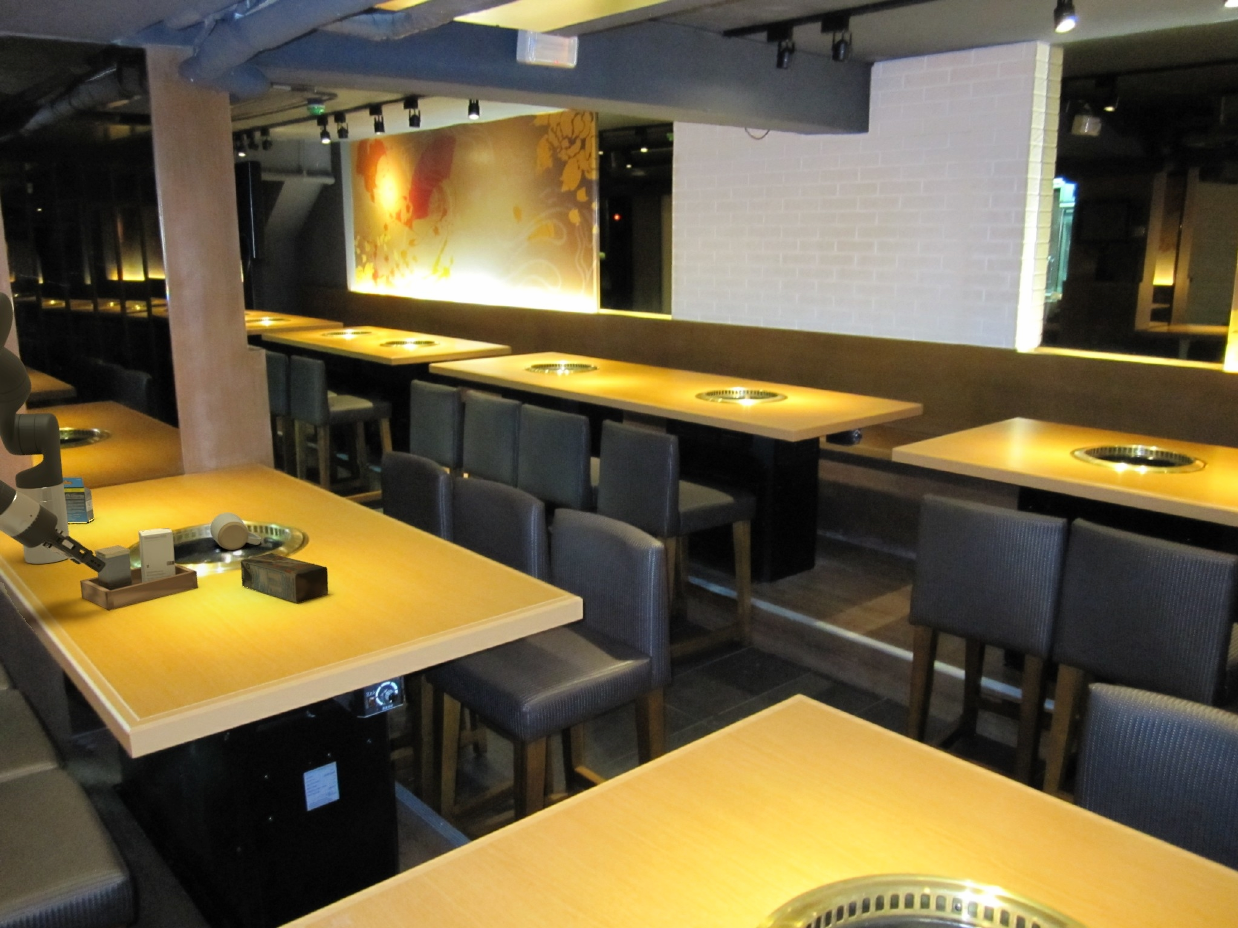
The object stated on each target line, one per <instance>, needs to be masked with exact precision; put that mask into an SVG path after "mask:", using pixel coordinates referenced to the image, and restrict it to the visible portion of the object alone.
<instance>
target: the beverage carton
mask: <svg viewBox="0 0 1238 928" xmlns="http://www.w3.org/2000/svg"><path fill="white" fill-rule="evenodd" d="M240 567H241V568H240V570H241V577H240V578H241V587H243V586H244V587H243V588H246V587H248V588H247V589H249V588H250V590H252V589H253V591H255V590H256V591H255V592H259V593H262V594H266V595H269V596H272V597H276V598H279V599H283V600H286V601H290V602H292V603H295V604H299V603H300V604H301V603H305V602H307V601H311V600H313V599H314V600H315V599H317V598H321V597H324V596H327V595H329V580H328V579H329V576H328V575H329V574H328V572H329V571H328V568H327V566H323V565H319V564H317V563H316V564H315V563H311V562H307V561H303V560H298V559H294V558H291V557H289V556H288V557H287V556H284V555H283V556H282V555H279V554H277V553H272V552H268V553H265V554H261V555H258V556H256V555H250V556H248V558H244V559H241V560H240Z"/></svg>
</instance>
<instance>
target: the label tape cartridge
mask: <svg viewBox="0 0 1238 928" xmlns="http://www.w3.org/2000/svg"><path fill="white" fill-rule="evenodd" d="M65 481H66V482H67V483H64V482H65ZM63 484H64V493H65V501H66V511H67V520H68V522H89V520H91V519H93V518H94V519H95V517H94V516H95V515H94V514H95V513H94V505H93V497H92V496H93V495H92V490H91V488H88V487H86V486H84V480H83V477H82V476H81V477H77V476H75V477H71V476H70V477H63Z"/></svg>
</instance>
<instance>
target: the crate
mask: <svg viewBox="0 0 1238 928" xmlns="http://www.w3.org/2000/svg"><path fill="white" fill-rule="evenodd" d="M197 572H198V571H197V570H194V569H191V568H188V567H187V566H183V565H180V564H179V563H175V575H173V576H169V577H165V578H160V579H156V580H152V581H148V582H144V583H142V573H141V566H138V567H135V568H134V567H133V568H131V577H132V585H131V586H127V587H123V588H119V589H115V590H108V589H106V588H103V587H101V586H99V582H98V576H93V577H90V578H85V579H81V580H80V581H79V583H80V584H79V585H80V591H81V598H83V599H84V600H87V601H89V602H90V603H93V604H95V605H97V606H100V607H102V608H104V609H106V610H108V611H111V610H116V609H119V608H123V607H126V606H131V605H135V604H139V603H143V602H147V601H151V600H154V598H155V599H159V598H164V597H166V596H165V595H167V596H171V595H174V594H179V593H182V592H183V593H184V592H186V591H190V590H194V589H198V587H199V584H198V574H197ZM142 601H143V602H142Z"/></svg>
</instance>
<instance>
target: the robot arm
mask: <svg viewBox="0 0 1238 928" xmlns="http://www.w3.org/2000/svg"><path fill="white" fill-rule="evenodd" d="M13 308H14V307H13V304H12V301H11V299H10V298H9V295H7V294H6V293H5V292H2V291H0V439H1V441H2V444H3V446H4V448H5V450H6V451H7V452H8V453H9V454H11V455H14V456H36V455H37V456H39V455H40V456H41V455H42V461H40V462H39V463H38V464H35V465H34V466H32V467H29V468H26V469H24V470H21V471H19V472H18V473H16V474H15V476H14V480H15V487H16V488H13V487H12V486H11V485H9V484H7V483H6V482H4V481H3V480H2V479H0V532H2V533H3V534H5V535H6V536H9V538H11V539H12V540H15V542H18V543H19V544H21V545H22V547H23V548H22V549H23V557H24V562H25V563H27V564H34V565H35V564H36V565H38V564H50V563H57V562H61V561H63V560H66V559H68V560H70V561H71V562H73V563H75V564H77V565H81V564H83V565H85V566H87V567H88V568H90V569H91V570H93V571H94V572H96V573H98V572H101V571H102V569H103V568H104V567H105V565H106V563H105V562H103V561H102V560H100V559H99V558H97V557H96V555H95V554H94V552H93V550H91V549H88V548H87V547H86V546H84V545H83V544H82V543H81V542H80V541H78V540H77V539H75V538H73V537H72V536H70V529H69V524H68V520H67V511H66V501H65V493H64V484H65V483H64V482H63V476H64V475H63V465H62V464H63V463H62V454H61V453H62V451H61V431H60V426H59V425H60V424H59V421H58V418H57V416H56V415H55V414H54V413H52V412H34V413H31V412H30V413H29V412H28V413H18V411H19V410H20V409H21V408H22V407H23V405H25V403H26V401H27V400H28V399H29V397H30V395H31V391H32V381H31V378H30V376H29V374H28V372H27V369H26V367H25V365H24V363H23V361H22V359H20V357H18V355H16V354H15V353H14V352H13V351H11V349H9V348H7V347H5V346H6V343H7V341H8V338H9V336H10V333H11V330H12V326H13V319H14V310H13ZM81 551H83V552H81Z"/></svg>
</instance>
